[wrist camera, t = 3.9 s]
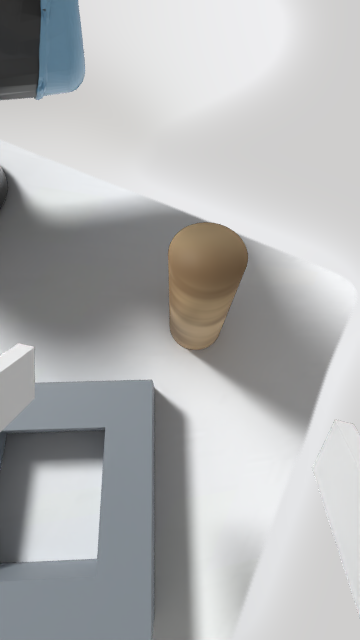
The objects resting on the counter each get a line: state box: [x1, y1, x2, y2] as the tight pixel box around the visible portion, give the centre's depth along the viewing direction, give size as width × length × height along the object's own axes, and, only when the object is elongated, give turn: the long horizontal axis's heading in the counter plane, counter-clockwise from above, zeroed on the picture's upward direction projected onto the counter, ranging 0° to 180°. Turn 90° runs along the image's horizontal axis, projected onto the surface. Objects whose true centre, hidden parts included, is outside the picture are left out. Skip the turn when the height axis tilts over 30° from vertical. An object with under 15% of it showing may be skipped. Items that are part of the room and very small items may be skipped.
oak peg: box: [168, 222, 248, 350], centre depth 25 cm, size 5×5×12 cm
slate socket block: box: [0, 380, 154, 640], centre depth 23 cm, size 16×16×4 cm
